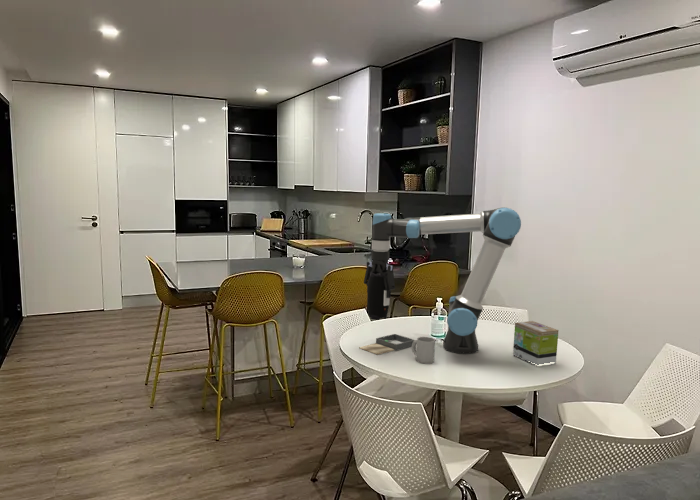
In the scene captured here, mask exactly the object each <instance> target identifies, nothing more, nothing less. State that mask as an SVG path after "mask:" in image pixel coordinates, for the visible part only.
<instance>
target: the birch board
mask: <svg viewBox="0 0 700 500" xmlns="http://www.w3.org/2000/svg"><path fill="white" fill-rule="evenodd" d="M358 348H359V349H360V350H363V351H366V352H369V353H371V354H374V355H376V356H378V355H383V354H386V353H389V352H390V353H391V352H393V351H395V350H394V349H391V348H389V347H386V346H383V345H380V344H377V343H376V342H375V343H371V344H368V345H363V346H359V347H358Z"/></svg>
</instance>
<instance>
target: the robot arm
mask: <svg viewBox="0 0 700 500" xmlns="http://www.w3.org/2000/svg"><path fill="white" fill-rule="evenodd" d="M371 227H372V232H371V233H372V235H371V256H370V259H371V260H372V261H366V269H365V274H364V280H363V284H364V285H366V292H367V294H368V283H369V278H370V272H372V273H375V274H377V273H378V272H379V273H380V274H387V275H384V285H385V288H386V289H385V290H384V306H387V305H389V306H390V298H391V297H392V295H391V294H392V290H395V289H396V285H395V276H394V270H395V269H394V268H395V266H394V265H390V264H389V260H390V251H389V250H390V245H391V238H406V239H418V238H419V237H420V235H421V236H422V235H436V234H438V235H439V234H454V233H455V234H457V233H476V232H481V233H482V237H483V239H484V241H483V243H482V246H481V248H480V251H479V253H478V255H477V257H476V259H475V262H474V265H473V266H472V269H471V271H470V274H469V276H468V278H467V280H466V283H465V284H464V287H463V288H462V289H463V290H462V292H461V294H459V295H456V296H455V295H453V296H450V298H449V302H448V303H449V305H448V306H449V307H448V315H447V316H446V317H447V318H446V323H447V331H446V334H445V337H444V340H443V343H442V348H443V349H444V350H446V351H448V352H451V353H455V354H465V355H466V354H475V353H478V351H479V343H478V338H477V335H476V334H477V333H476V329H477V327H478V321H479V319H480V317H481V315H482V313H483V309H484V307H483V305H482V302H483V300H484V298H485V295H486V293H487V291H488V289H489V287H490V284H491V282H492V279H493V278H494V275H495V273H496V271H497V268H498V265H499V263H500V262H501V259H502V257H503V255H504V253H505V250H506V249H508V248H510V247H512V244H513V242H514V240H515V237H516V236H517V235H518V233H519V232H520V231H521V227H522V219H521V217H520V215H519V213H518V212H517V211H516V210H514V209H512V208H509V207H498V208H495V209H488V210H481V212H480V213H469V214H465V213H464V214H451V215H450V214H448V215H437V216H436V215H435V216H425V217H424V216H421V217H406V218H404V219H403V218H392V215H391V214H390V213H383V212H382V213H381V212H380V213H379V212H377V213H374V214H373V217H372V226H371Z"/></svg>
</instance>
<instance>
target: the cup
mask: <svg viewBox="0 0 700 500" xmlns="http://www.w3.org/2000/svg"><path fill="white" fill-rule="evenodd" d="M413 340H414V341H413V343H412V346H411V352H412V354H413V355H415V360H416V362H418V363H420V364H425V365H428V364H429V365H430V364H432V363H434V361H435V351H436V350H435V349H436V339H435V338H433V337H430V336H419V337H417V338H416V339H413Z"/></svg>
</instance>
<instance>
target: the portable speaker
mask: <svg viewBox="0 0 700 500" xmlns="http://www.w3.org/2000/svg"><path fill="white" fill-rule="evenodd" d="M384 275H387V274H380V273H379V272H378V273H377V274H375V273H372V272H370V278H369V283H368V293H367V294H366V295H367V296H366V297H367V299H366V306H367V315H368V317H370V320H375V321H380V319H383V318H384V319H385V320H386V319H388V313H389V307H390V304H389V305H387V306H384V290H385V289H386V288H385V285H384Z"/></svg>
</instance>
